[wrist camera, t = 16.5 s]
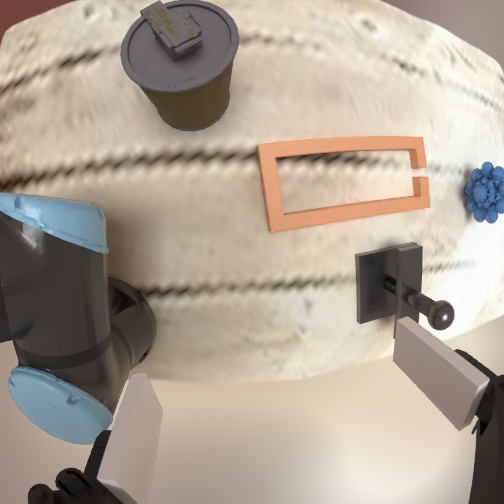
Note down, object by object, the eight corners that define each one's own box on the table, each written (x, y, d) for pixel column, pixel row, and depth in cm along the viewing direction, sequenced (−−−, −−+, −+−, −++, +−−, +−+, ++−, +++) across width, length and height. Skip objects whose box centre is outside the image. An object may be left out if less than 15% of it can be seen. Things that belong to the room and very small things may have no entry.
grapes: (451, 160, 42) (497, 160, 30) (471, 162, 43) (514, 163, 31) (453, 221, 45) (498, 231, 33) (472, 218, 45) (515, 228, 34)
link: (268, 230, 41) (271, 232, 39) (256, 146, 38) (258, 144, 36) (423, 206, 43) (430, 207, 41) (415, 138, 40) (422, 137, 38)
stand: (357, 328, 46) (408, 382, 30) (354, 245, 43) (420, 276, 27) (410, 311, 47) (467, 352, 31) (412, 233, 44) (483, 255, 28)
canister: (243, 105, 36) (268, 39, 17) (180, 145, 37) (147, 106, 17) (203, 52, 34) (197, -34, 14) (142, 89, 34) (91, 24, 15)
